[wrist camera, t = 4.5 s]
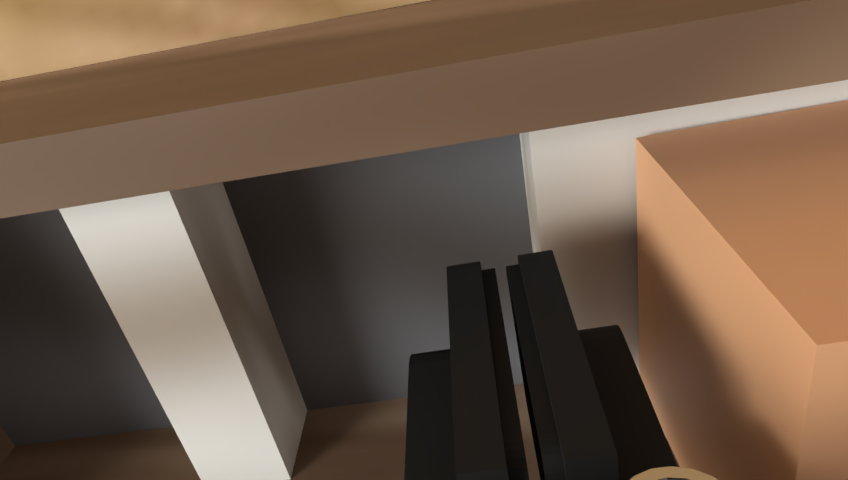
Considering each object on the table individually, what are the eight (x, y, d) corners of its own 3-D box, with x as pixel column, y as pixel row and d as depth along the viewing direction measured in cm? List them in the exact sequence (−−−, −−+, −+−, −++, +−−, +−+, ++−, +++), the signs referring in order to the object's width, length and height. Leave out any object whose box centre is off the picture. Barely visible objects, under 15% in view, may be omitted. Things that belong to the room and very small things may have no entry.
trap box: (1204, 320, 15) (1525, 509, 10) (7, 463, 18) (-130, 654, 13) (1481, -198, 10) (2314, -252, 5) (-240, 126, 13) (-581, 257, 9)
